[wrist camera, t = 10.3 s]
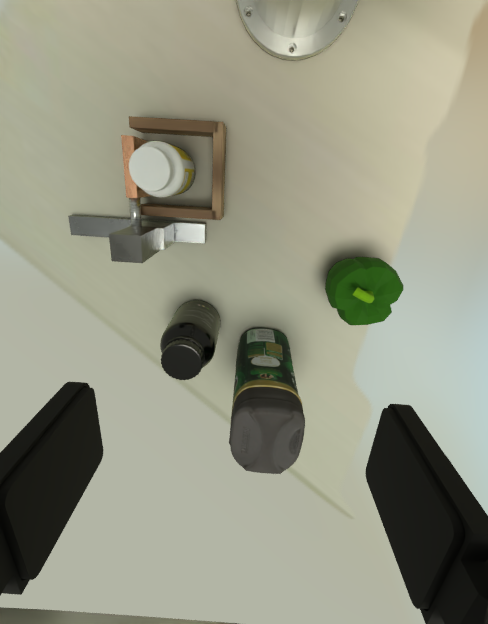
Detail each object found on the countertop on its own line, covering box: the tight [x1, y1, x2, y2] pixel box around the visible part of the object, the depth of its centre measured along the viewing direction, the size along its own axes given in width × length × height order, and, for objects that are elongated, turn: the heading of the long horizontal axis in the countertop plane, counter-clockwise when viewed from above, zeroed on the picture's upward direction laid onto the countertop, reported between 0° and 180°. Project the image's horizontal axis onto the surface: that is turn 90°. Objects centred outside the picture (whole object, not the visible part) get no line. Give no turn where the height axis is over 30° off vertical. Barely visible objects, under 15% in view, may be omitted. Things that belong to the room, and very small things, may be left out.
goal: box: [129, 116, 226, 220], centre depth 37 cm, size 10×10×4 cm
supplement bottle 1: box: [129, 141, 195, 197], centre depth 34 cm, size 5×5×10 cm
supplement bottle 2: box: [160, 300, 220, 380], centre depth 41 cm, size 7×7×12 cm
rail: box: [69, 215, 206, 243], centre depth 41 cm, size 2×18×1 cm, turn 87°
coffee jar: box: [229, 329, 305, 474], centre depth 40 cm, size 10×8×19 cm
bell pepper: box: [325, 257, 403, 325], centre depth 39 cm, size 8×8×10 cm
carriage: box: [109, 135, 175, 263], centre depth 34 cm, size 12×4×12 cm, turn 177°
